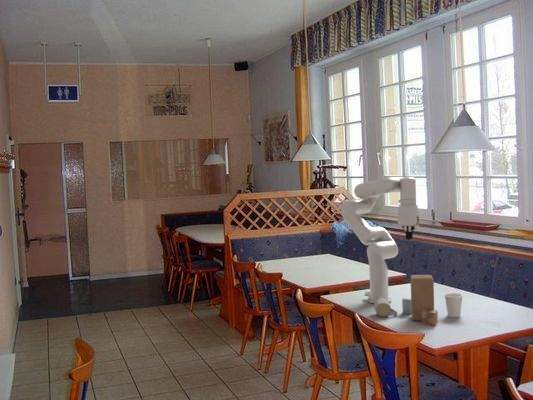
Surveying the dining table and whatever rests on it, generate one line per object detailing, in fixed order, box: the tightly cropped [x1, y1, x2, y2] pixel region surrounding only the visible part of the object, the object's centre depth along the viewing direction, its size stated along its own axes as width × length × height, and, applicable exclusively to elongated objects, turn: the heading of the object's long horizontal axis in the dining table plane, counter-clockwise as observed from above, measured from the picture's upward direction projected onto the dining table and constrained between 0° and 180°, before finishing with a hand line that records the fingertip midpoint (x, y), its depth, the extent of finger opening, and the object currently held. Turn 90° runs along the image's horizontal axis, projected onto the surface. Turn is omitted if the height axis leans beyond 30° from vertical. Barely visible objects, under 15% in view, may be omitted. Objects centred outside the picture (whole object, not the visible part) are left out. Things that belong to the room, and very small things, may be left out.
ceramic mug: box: [373, 298, 398, 318], centre depth 290 cm, size 11×8×8 cm
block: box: [410, 274, 435, 322], centre depth 281 cm, size 10×10×20 cm
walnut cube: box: [421, 309, 439, 327], centre depth 272 cm, size 6×6×6 cm
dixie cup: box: [444, 292, 463, 318], centre depth 284 cm, size 8×8×10 cm
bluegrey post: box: [401, 297, 412, 316], centre depth 292 cm, size 5×5×7 cm
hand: (409, 239), depth 298 cm, fingers closed
